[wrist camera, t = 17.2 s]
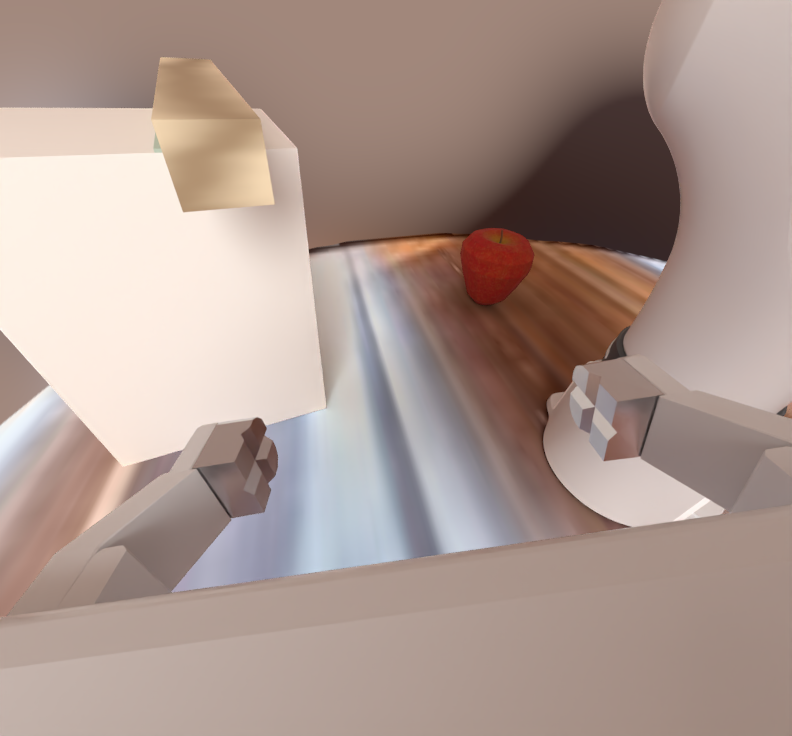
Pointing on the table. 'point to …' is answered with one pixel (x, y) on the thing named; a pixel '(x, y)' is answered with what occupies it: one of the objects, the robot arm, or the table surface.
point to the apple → (494, 263)
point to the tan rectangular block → (209, 138)
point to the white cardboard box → (151, 282)
